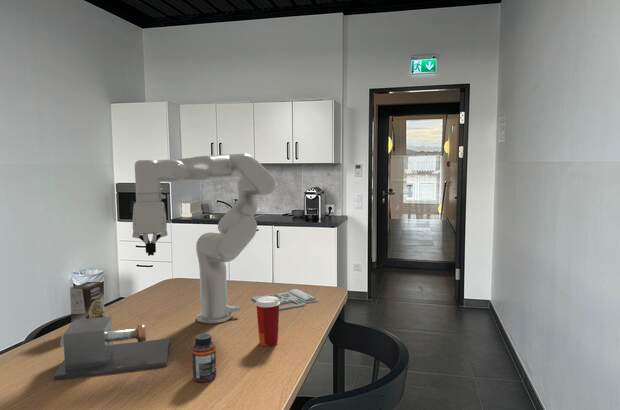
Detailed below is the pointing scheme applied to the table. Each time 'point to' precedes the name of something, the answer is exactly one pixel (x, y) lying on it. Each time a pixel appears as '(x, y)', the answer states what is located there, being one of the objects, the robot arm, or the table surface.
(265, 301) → the paper cup
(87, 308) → the coffee box
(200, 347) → the supplement bottle
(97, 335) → the grey fixture block
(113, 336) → the shaft
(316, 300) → the office telephone
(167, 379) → the table surface
